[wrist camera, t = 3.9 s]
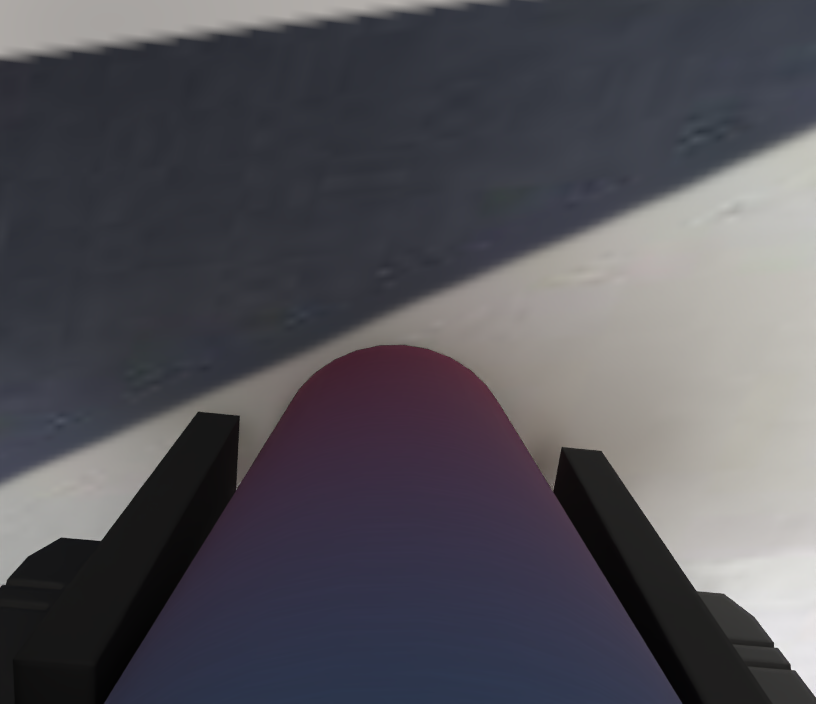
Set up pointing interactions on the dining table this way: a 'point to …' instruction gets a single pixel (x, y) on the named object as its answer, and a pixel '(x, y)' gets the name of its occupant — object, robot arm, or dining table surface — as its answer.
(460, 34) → the dining table surface
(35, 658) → the robot arm
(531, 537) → the cup
